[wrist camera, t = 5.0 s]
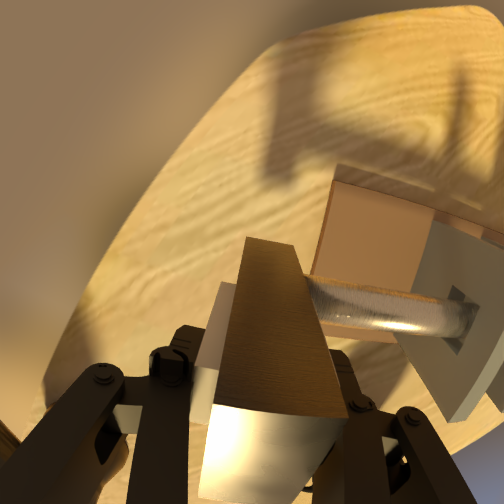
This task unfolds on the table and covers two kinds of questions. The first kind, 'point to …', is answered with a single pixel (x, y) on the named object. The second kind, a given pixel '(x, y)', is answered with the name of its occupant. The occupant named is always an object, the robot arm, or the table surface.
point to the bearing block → (422, 286)
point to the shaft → (295, 370)
